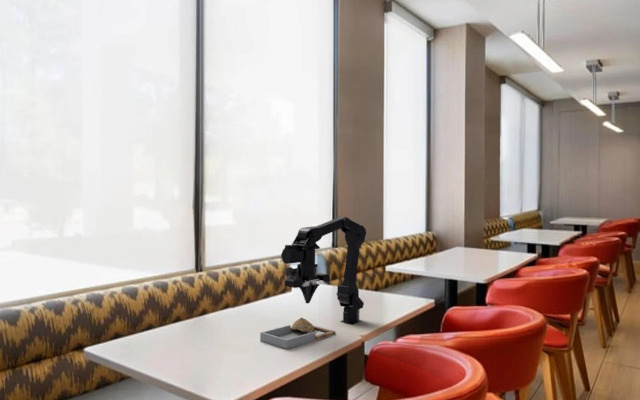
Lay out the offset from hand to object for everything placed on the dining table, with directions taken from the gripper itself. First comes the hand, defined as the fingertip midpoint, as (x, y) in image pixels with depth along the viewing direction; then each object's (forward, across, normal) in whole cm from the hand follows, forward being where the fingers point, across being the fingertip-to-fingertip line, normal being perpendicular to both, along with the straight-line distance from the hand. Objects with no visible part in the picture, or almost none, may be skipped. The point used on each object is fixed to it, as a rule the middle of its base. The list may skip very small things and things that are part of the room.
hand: (307, 303), depth 183 cm
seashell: (+12, -1, 0) cm, 12 cm away
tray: (+12, +10, 0) cm, 16 cm away
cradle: (+12, -1, 0) cm, 12 cm away
